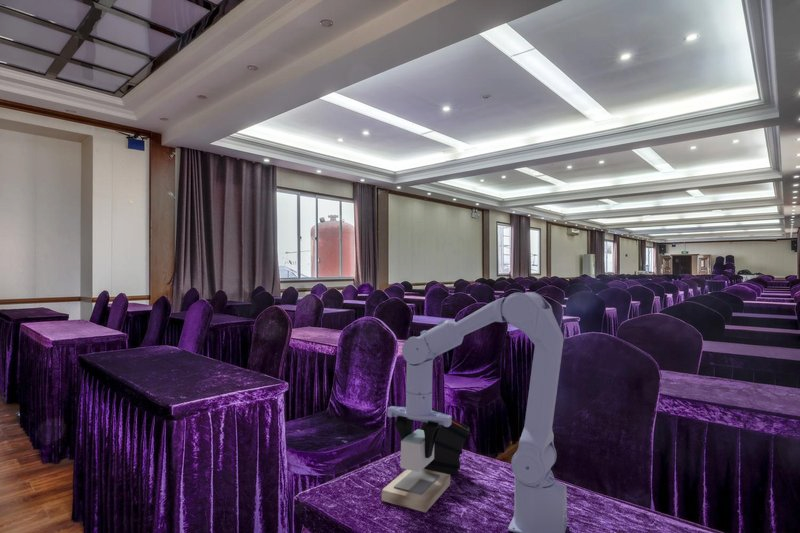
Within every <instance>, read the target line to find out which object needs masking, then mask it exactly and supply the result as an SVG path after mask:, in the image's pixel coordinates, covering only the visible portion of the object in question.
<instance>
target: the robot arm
mask: <svg viewBox="0 0 800 533" xmlns="http://www.w3.org/2000/svg"><path fill="white" fill-rule="evenodd" d="M495 322H496V323H497V322H498V323H506V322H507V323H509V324H510V325H511V326H513V327H514V328H516V329H518V330H520V331H522V332H523V333H524V334H525V335H526V336H527V338H529V340H530V341H531V342H532V344H533V345H534V349H533V357H532V358H533V359H532V364H531V365H532V366H531V371H530V372H531V373H530V380H529V390H528V397H527V404H526V411H525V417H524V418H525V419H524V425H523V426H524V427H523V429H522V432H521V436H520V438H519V442H518V448H517V450H516V452H515V453H514V454H513V456H512V458H511V462H510V466H511V470H512V473H513V475H514V496H513V497H514V498H513V499H514V500H513V501H514V502H513V504H514V506H513V507H514V508H513V512H514V514H513V517H512V519H511V521H510V523H509V525H508V527H507V529H508V531H510V532H513V533H566V530H567V528H568V516H567V512H568V511H567V510H568V508H567V507H568V505H567V504H568V488H567V485H566V484H563V483H560V482H558V481H557V480H555V476H554V473H553V471H552V469H551V468H552V467H553V466H554V465H555V463H556V462H557V450H556V448H555V444H554V438H555V434H554V431H553V424H554V416H555V409H556V408H555V407H556V402H557V401H556V400H557V393H558V386H559V379H560V378H559V377H560V371H561V370H560V369H561V365H562V364H561V362H562V354H563V348H564V347H563V346H564V334H563V332H562V330H561V328H560V326H559V323H558V321H557V319H556V317H555V314H554V312H553V307H552V305H551V304H550V303H549V302H548V301H547V300H546V299H545V298H544V297H543V296H542V295H540V294H539V293H537V292H532V291H529V292H528V291H527V292H514V293H511V294H509V295H508V296H506V297H505V296H504V297H502V298H501V297H500V298H498V299H496V300H494V301H491V302H489V303H487V304H486V305H484V306H482V307H481V308H478V310H475V311H474V312H472V313H470V314H469V315H467V316H465V317H463V318H462V319H459V320H458V321H454V320H452V319H451V320H450V319H447V320H445V319H441V320H439V321H437V322H436V323H437V325H436V326H433V327H432V328H429V329H428V330H426V329H424V330H422V331H420V335H419V336H410V337H409V338H407V340H405V341H404V342H403V344H402V347H401V352H402V357H403V358H404V360H405V361H406V371H405V372H406V378H405V381H406V382H405V384H406V385H405V406H394V405H391V406H389V407H387V412H386V413H387V415H386V416H387V417H389V418H393V417H394V418H396V420H395V421H394V426H395V429H396V431H397V432H398V435H399V437H400V439H401V441H402V440H403V439H404V438H405V437H407V436H408V435H410V434H411V433H412V432H413V426H414V421H417V422H421V423H422V422H428V424H427V425H425V426H424V427H423V429H424V435H425V458H429V457H430V456H432V451H433V446H434V443H435V440H436V437H437V435H438V433H439V431H440V429H441V427H442V425H444V426H445V427H449V426H450V425H451V418H453V416H452V415H450V414H446V413H443V412H441V413H439V412H436V411H432V408H433V368H434V367H433V365H434V360H435V359H436V358H437V356H440V355H442V354H444V353H446V352H448V351H450V350H452V349H454V348H456V347H458V346H461V345H462V344H463V341H464V337H465V336H466V335H468V334H470V333H473V332H475V331H477V330H479V329H481V328H483V327H486V326H488V325H490V324H492V323H495ZM442 413H443V414H442Z"/></svg>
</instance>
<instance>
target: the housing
mask: <svg viewBox="0 0 800 533" xmlns="http://www.w3.org/2000/svg"><path fill="white" fill-rule="evenodd" d="M433 459H434V446H433V451H432V456H430V457H429V458H425V435H424V430H420V429H419V428H417V429H416V430H414V431H412V433H411V434H410V435H408V436H407V437H405V438H404V439H403V440H401V441H400V469H404V470H406V469H408V470H412V471H417V472H420V471H421V470H422V469H424V468H425V467H426V466H427V465H428V464H429V463H430V462H431V461H432V460H433Z"/></svg>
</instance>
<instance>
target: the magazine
mask: <svg viewBox="0 0 800 533" xmlns="http://www.w3.org/2000/svg"><path fill="white" fill-rule="evenodd" d="M432 411H436V412H439V413H442V414H444V413H443V412H441V411H439V410H437V409H435V408H434V407H432ZM427 424H428V422H422V421H421V425H420V428H418V429H420V430H424V429H423V427H424V426H425V425H427ZM469 434H470V427H469V426H467V425H465V424H464V423H462V422H460V421H458V420H456V419H455V418H453V417H452V418H451V425H450V426H449V427H445V426H444V425H442V427H441V429H440V431H439V433H438V435H437V437H436V440H435V443H434V459H433V460H432V461H431V462H430V463H429V464H428V465H427V466H426V467H425V468H424V469H427V470H431V471H436V472H440V473H445V474H449V475H455V476H456V475H459V470H460V469H461V461H460V457H461V455H462V454H463V446H464V443H465V441H466V440H467V441H468V439H469V436H470V435H469Z"/></svg>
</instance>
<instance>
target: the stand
mask: <svg viewBox="0 0 800 533" xmlns="http://www.w3.org/2000/svg"><path fill="white" fill-rule="evenodd" d="M450 486H451V474H445V473H440V472H436V471H431V470H427V469H422V470H421V471H420V472H417V471H412V470H408V469H404V471H402V472H401V473H400V474H399V475H398V476H397V477H395V478H394V479H393V480H392V481H390V483H388V484H387V485H386V486H385V487H383V488H382V489H381V502H386V503H390V504H391V505H397V506H400V507H403V508H408V509H411V510H414V511H418V512H422V513H427V512H428V511H429V509H430V508H431V507H432V506H433V505H434V504H435V503H436V501H437V500H439V498H440V497H441V496H442V495H443V494H444V493H445V492H446V490H447V489H448V488H449V487H450Z"/></svg>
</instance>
